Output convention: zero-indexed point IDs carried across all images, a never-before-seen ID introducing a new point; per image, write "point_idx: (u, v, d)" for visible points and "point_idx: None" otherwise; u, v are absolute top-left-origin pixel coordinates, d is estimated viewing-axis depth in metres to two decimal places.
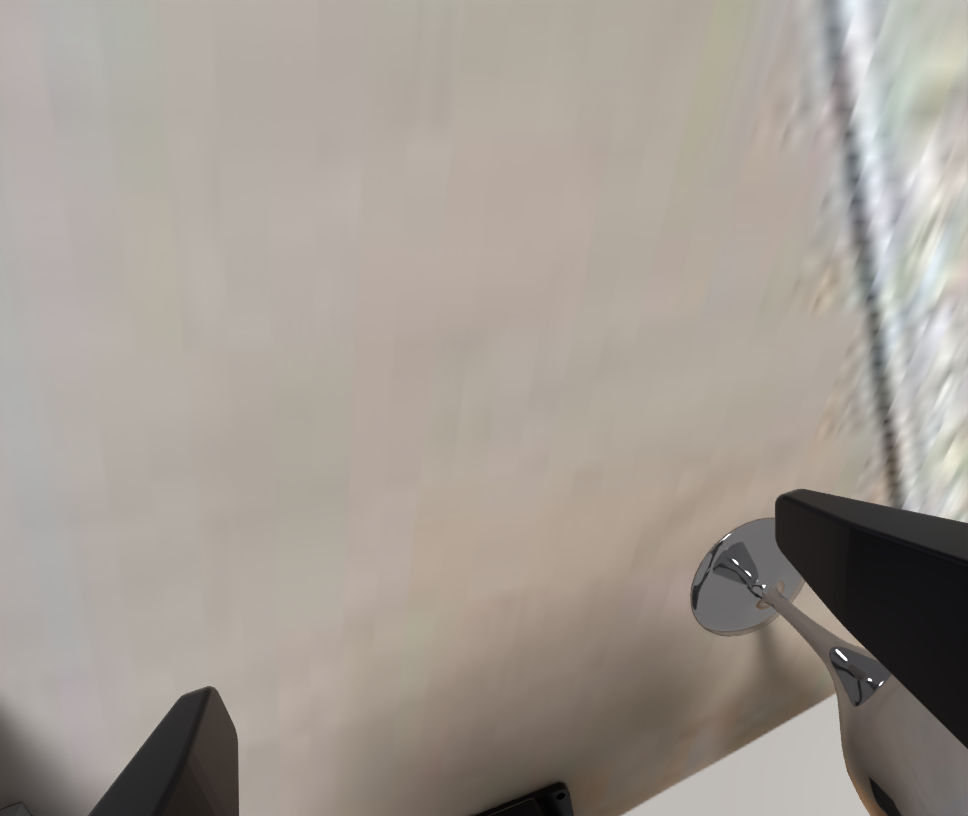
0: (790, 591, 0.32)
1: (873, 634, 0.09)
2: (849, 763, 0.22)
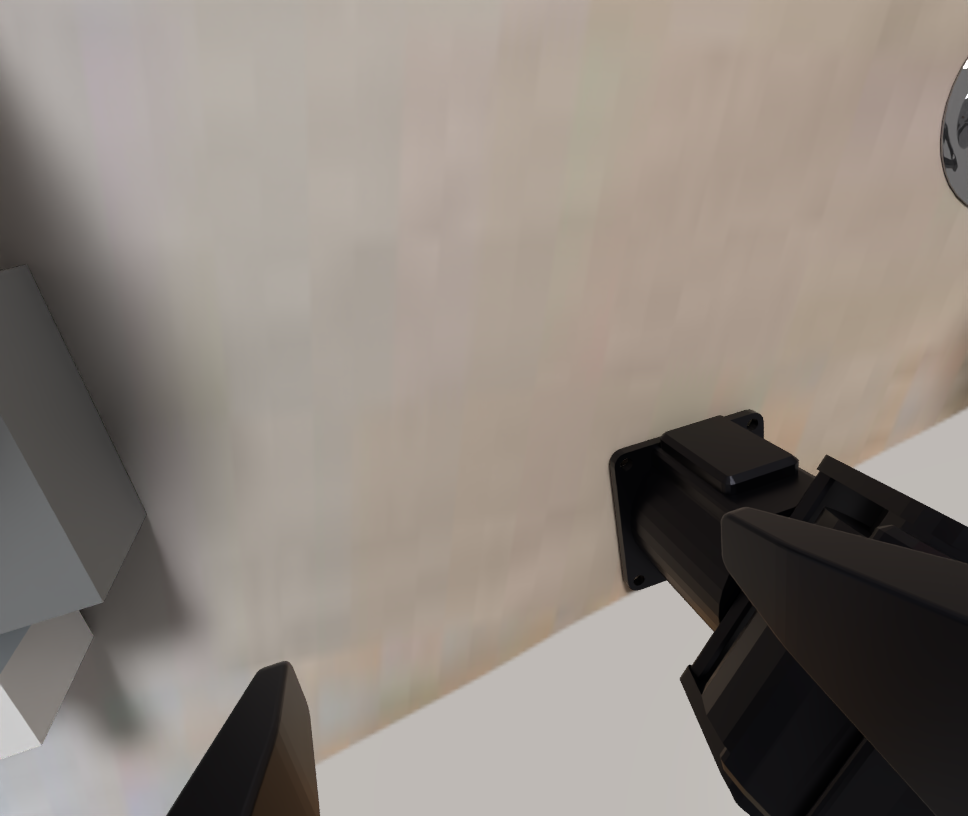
0: None
1: (813, 658, 0.08)
2: None
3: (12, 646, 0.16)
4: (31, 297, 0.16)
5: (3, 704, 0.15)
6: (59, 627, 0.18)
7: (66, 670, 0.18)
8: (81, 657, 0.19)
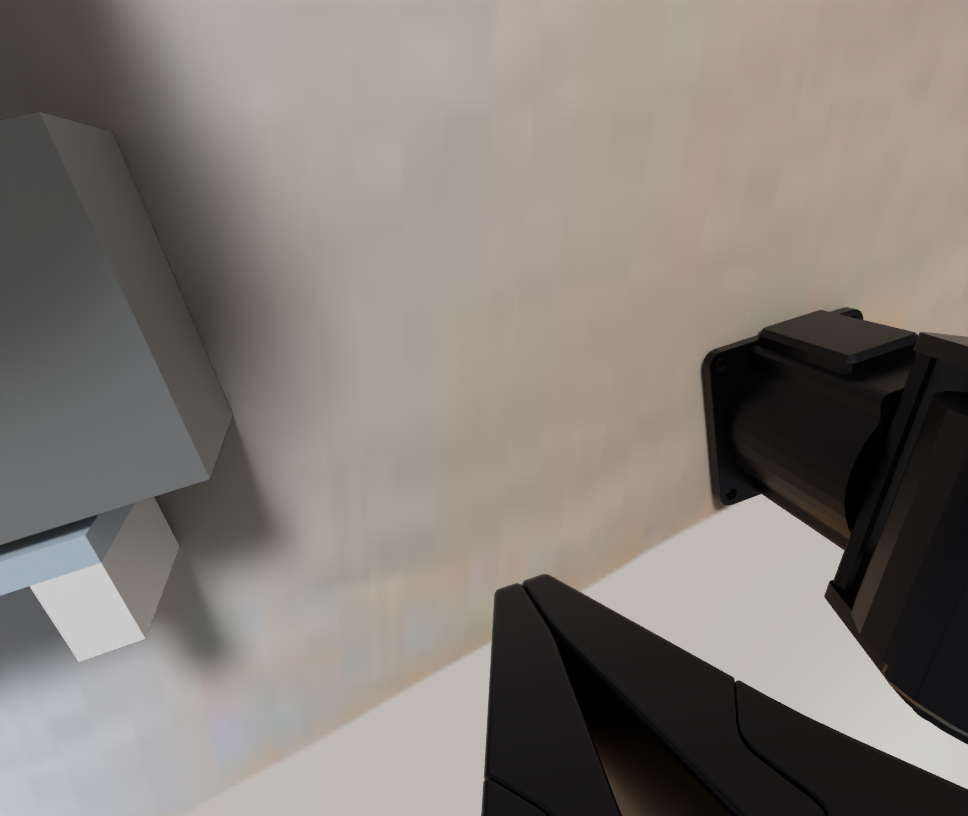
0: None
1: None
2: None
3: (111, 535, 0.15)
4: (119, 164, 0.15)
5: (107, 591, 0.15)
6: (149, 528, 0.17)
7: (159, 572, 0.17)
8: (171, 564, 0.18)
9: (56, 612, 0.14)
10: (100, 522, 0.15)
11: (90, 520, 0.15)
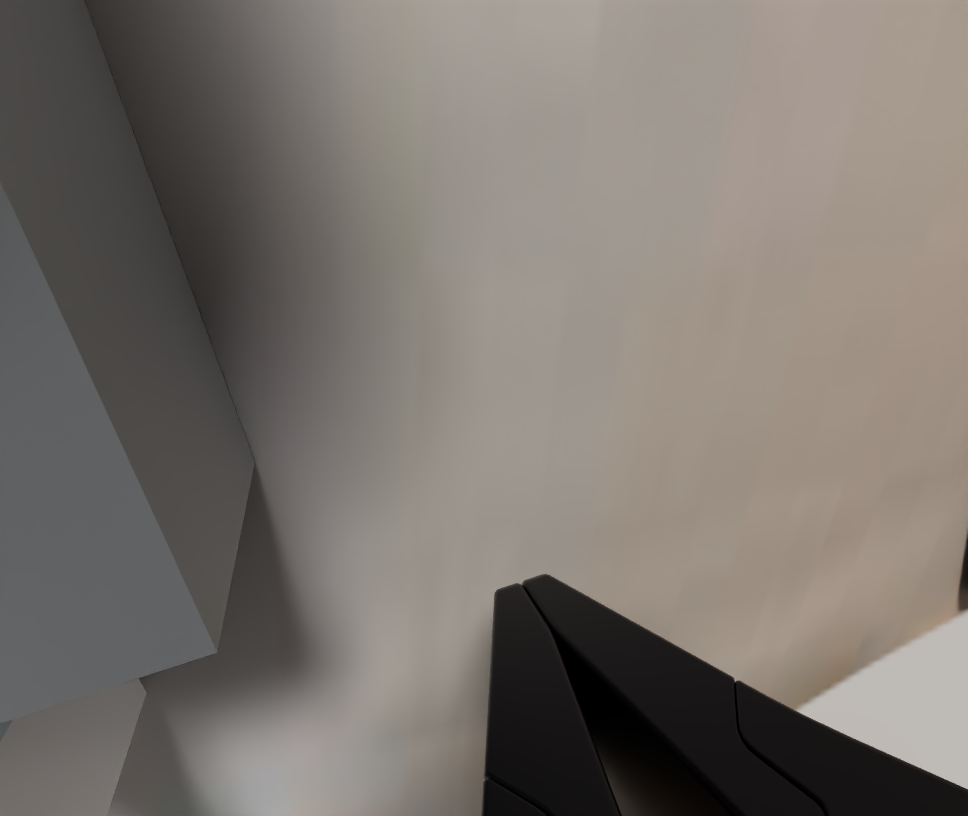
0: None
1: None
2: None
3: None
4: None
5: None
6: None
7: (101, 776, 0.09)
8: (128, 741, 0.10)
9: None
10: None
11: None
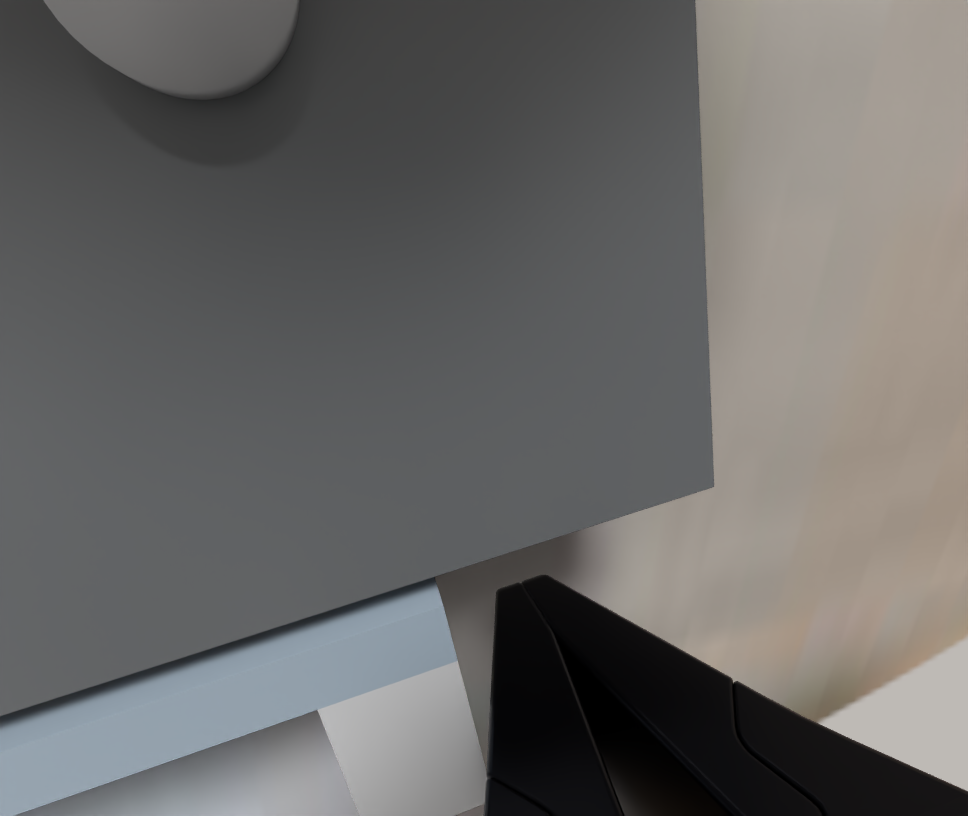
0: None
1: None
2: None
3: None
4: None
5: (452, 716, 0.07)
6: None
7: None
8: None
9: (354, 758, 0.07)
10: None
11: None
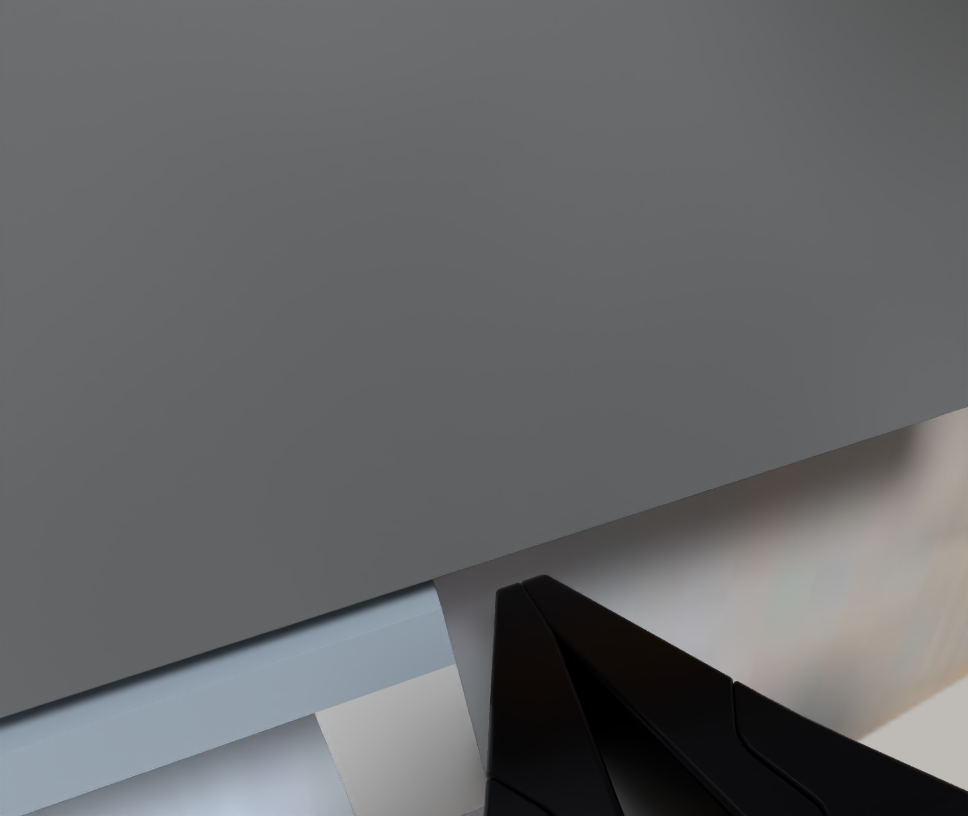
0: None
1: None
2: None
3: None
4: None
5: (450, 719, 0.07)
6: None
7: None
8: None
9: (351, 762, 0.07)
10: None
11: None
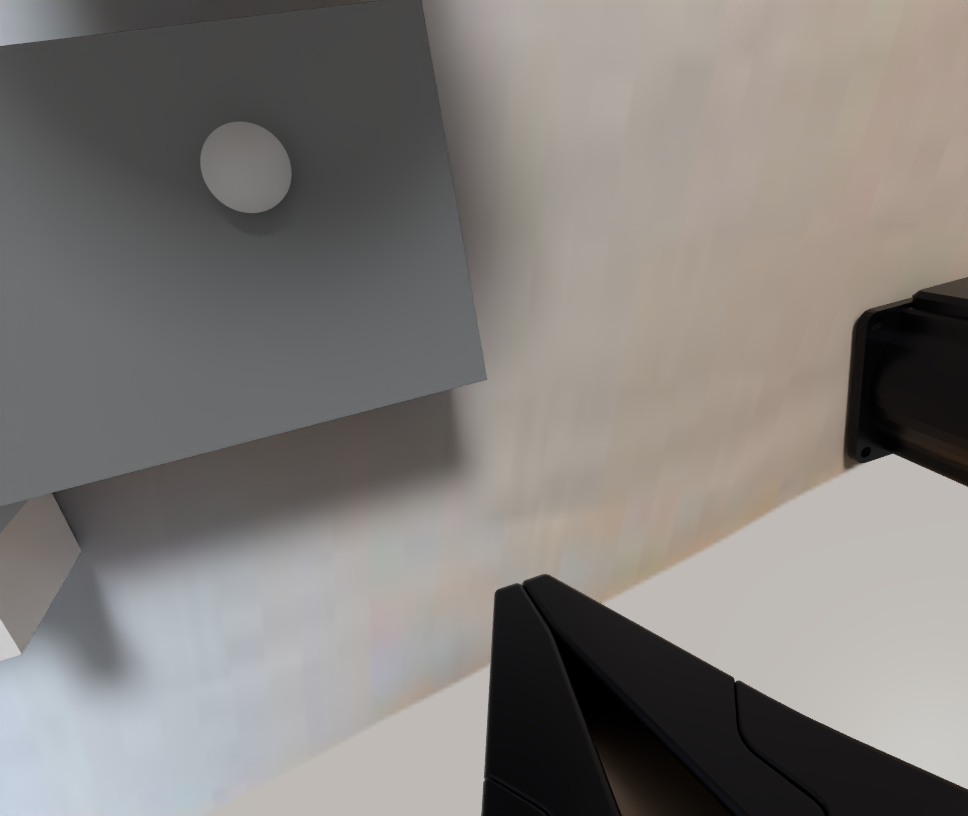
0: None
1: None
2: None
3: None
4: None
5: None
6: (43, 531, 0.16)
7: (51, 579, 0.16)
8: (68, 570, 0.17)
9: None
10: None
11: None
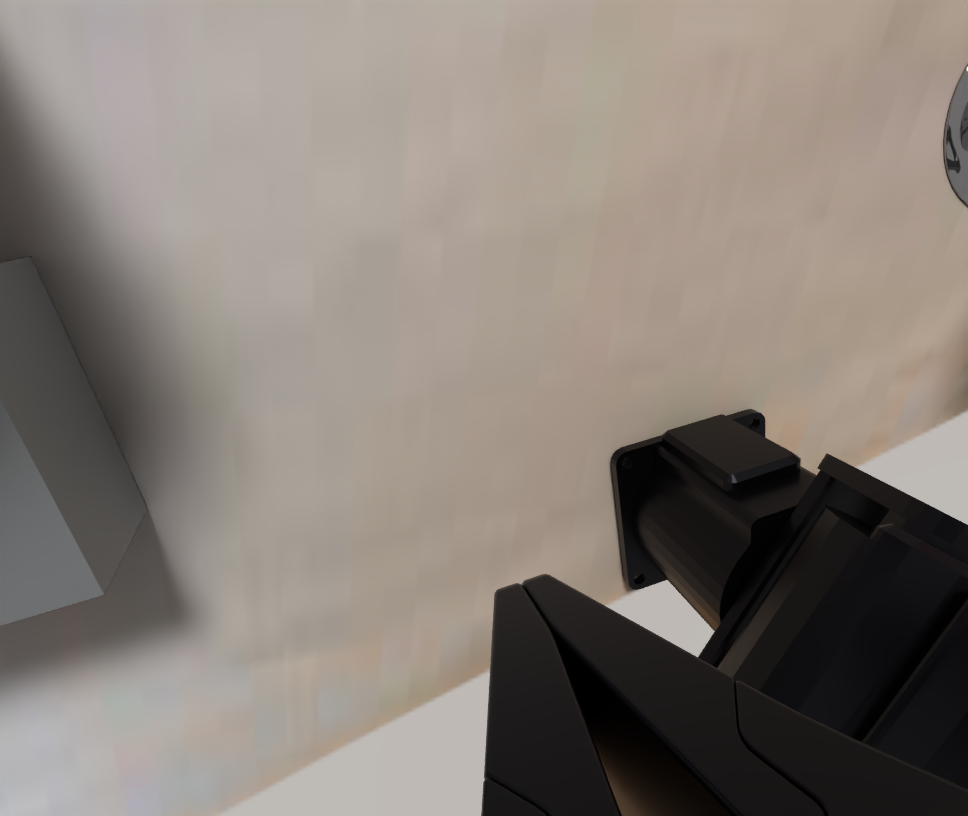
0: None
1: None
2: None
3: None
4: (35, 289, 0.16)
5: None
6: None
7: None
8: None
9: None
10: None
11: None
